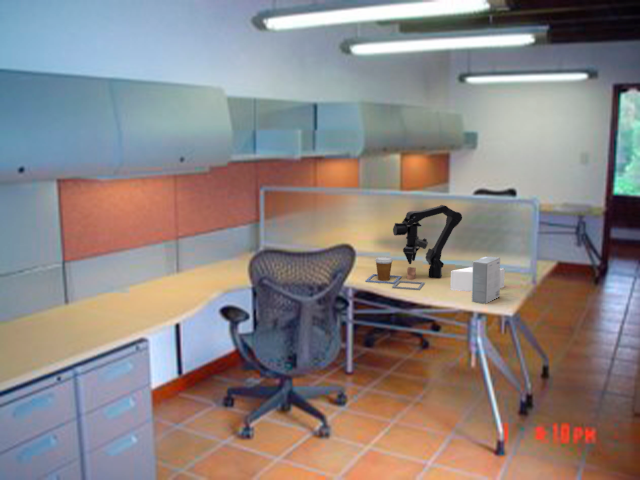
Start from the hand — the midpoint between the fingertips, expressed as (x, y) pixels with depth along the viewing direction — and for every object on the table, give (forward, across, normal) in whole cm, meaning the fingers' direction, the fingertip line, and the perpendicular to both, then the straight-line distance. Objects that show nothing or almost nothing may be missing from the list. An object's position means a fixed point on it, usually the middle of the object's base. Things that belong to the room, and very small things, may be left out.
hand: (411, 262), depth 351 cm
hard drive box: (+10, -32, -43) cm, 54 cm away
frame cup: (+9, -7, +14) cm, 18 cm away
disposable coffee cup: (+9, -7, +14) cm, 18 cm away
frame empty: (+9, -17, -2) cm, 19 cm away
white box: (+10, -12, -37) cm, 40 cm away
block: (+9, 0, 0) cm, 9 cm away
